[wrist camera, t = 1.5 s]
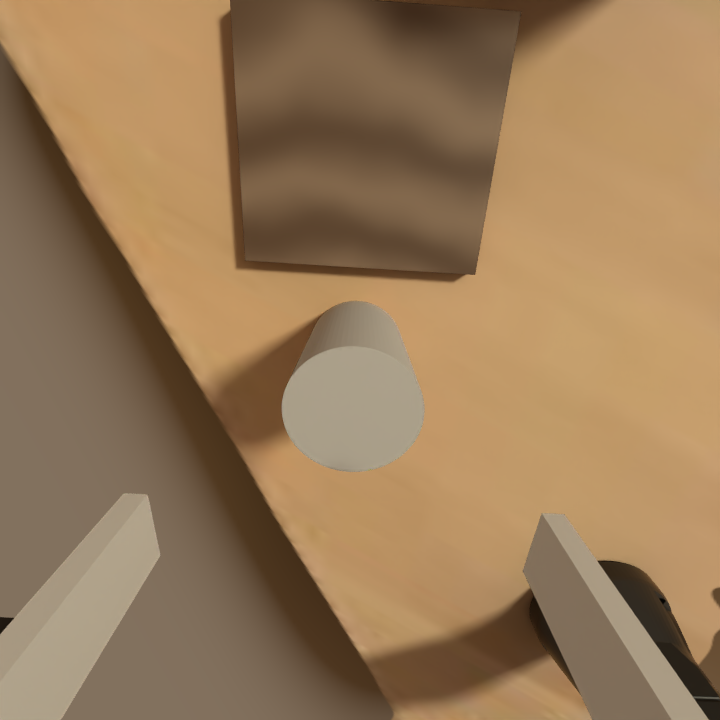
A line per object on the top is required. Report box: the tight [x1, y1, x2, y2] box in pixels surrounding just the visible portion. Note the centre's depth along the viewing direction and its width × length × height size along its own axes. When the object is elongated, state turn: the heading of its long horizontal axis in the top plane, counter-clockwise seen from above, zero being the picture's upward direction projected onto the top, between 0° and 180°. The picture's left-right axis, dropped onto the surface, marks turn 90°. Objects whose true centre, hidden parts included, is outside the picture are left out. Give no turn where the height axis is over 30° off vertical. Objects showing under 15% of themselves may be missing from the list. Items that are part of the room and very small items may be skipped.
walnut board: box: [230, 0, 521, 275], centre depth 25 cm, size 16×18×2 cm
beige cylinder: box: [282, 301, 424, 472], centre depth 25 cm, size 8×8×12 cm
